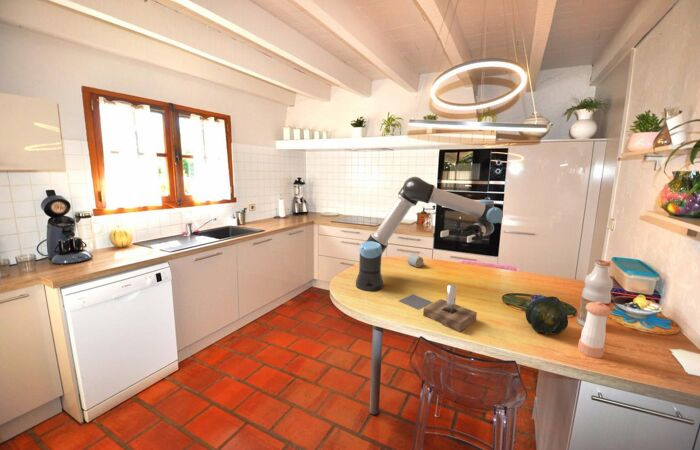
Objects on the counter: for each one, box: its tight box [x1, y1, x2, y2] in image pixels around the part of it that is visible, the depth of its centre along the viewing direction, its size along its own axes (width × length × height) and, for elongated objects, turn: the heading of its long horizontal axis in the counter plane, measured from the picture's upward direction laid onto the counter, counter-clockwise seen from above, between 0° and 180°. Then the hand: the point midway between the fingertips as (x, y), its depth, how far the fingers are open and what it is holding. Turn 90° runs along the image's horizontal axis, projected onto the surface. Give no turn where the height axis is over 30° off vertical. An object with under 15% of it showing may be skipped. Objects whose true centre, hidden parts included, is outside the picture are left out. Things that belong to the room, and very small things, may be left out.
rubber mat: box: [398, 294, 434, 311], centre depth 146 cm, size 12×12×1 cm
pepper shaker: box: [577, 302, 612, 359], centre depth 107 cm, size 7×7×19 cm
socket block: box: [422, 298, 478, 333], centre depth 131 cm, size 17×14×4 cm
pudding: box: [531, 294, 546, 302], centre depth 144 cm, size 12×12×5 cm
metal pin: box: [445, 283, 457, 314], centre depth 130 cm, size 4×4×15 cm
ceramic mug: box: [407, 253, 425, 268], centre depth 201 cm, size 11×8×8 cm
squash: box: [524, 296, 569, 335], centre depth 122 cm, size 14×15×15 cm
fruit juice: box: [577, 259, 614, 328], centre depth 125 cm, size 9×9×28 cm
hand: (453, 236), depth 143 cm, fingers open, 13 cm apart
